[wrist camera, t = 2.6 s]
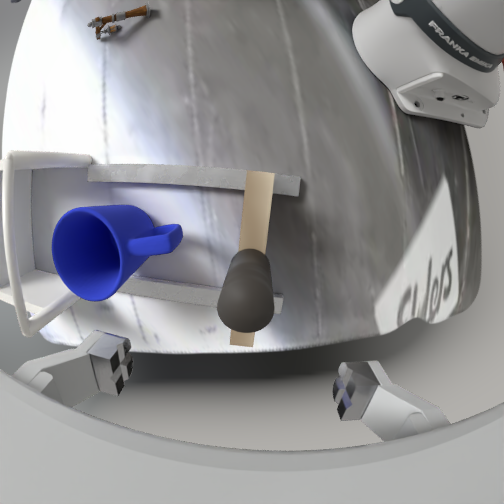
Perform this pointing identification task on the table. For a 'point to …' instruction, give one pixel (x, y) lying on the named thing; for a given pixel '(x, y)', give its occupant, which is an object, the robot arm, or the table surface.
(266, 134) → the table surface
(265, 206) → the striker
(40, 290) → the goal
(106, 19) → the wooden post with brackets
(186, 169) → the rails
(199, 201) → the table surface
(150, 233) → the mug
